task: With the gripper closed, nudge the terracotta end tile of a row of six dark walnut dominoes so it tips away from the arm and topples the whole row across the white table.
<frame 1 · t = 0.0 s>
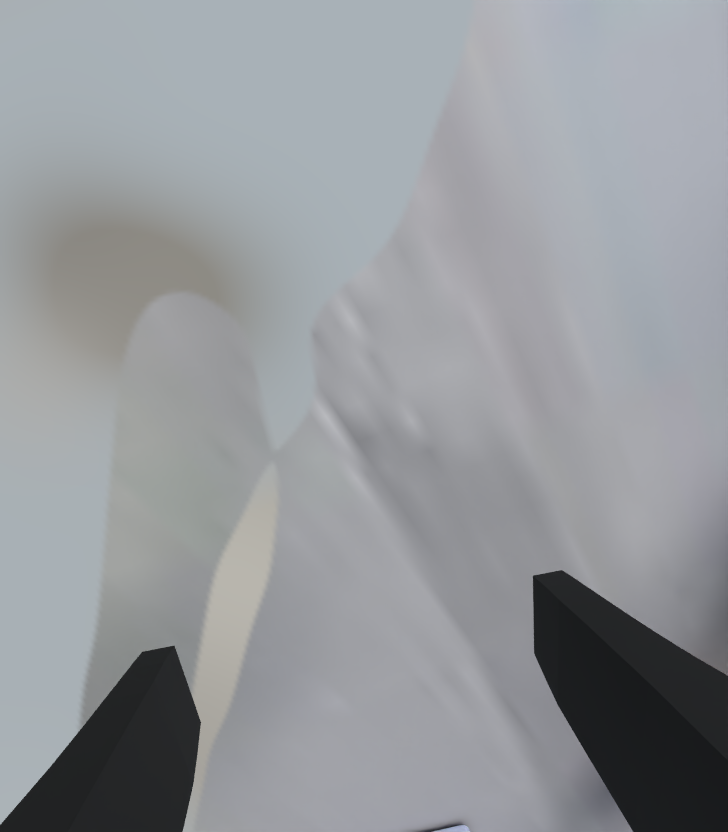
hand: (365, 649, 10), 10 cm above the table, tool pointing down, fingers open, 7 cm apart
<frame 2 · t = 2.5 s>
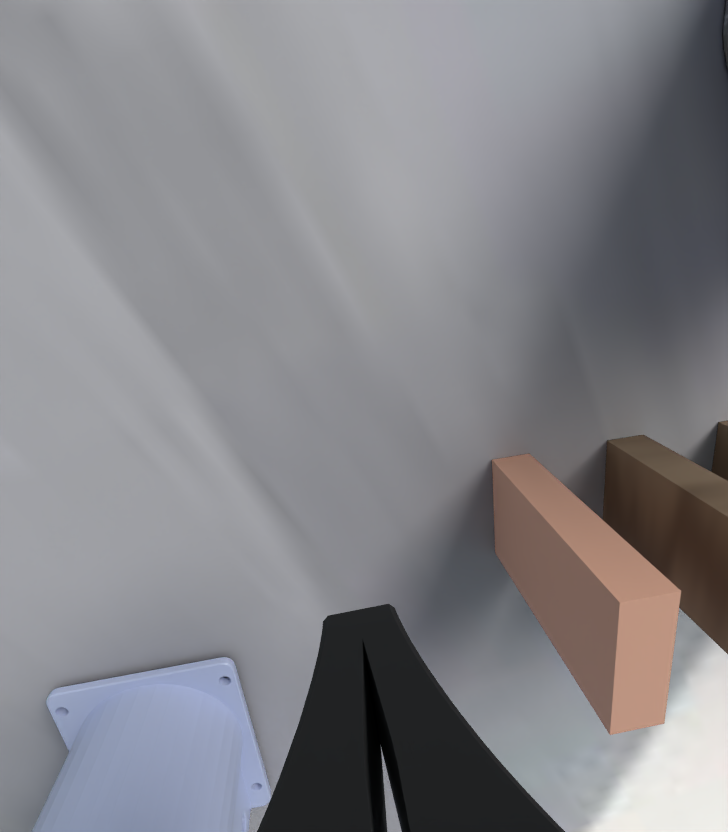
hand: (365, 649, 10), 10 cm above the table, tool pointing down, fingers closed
domino 1: (511, 504, 20), on the table
domino 2: (621, 485, 21), on the table
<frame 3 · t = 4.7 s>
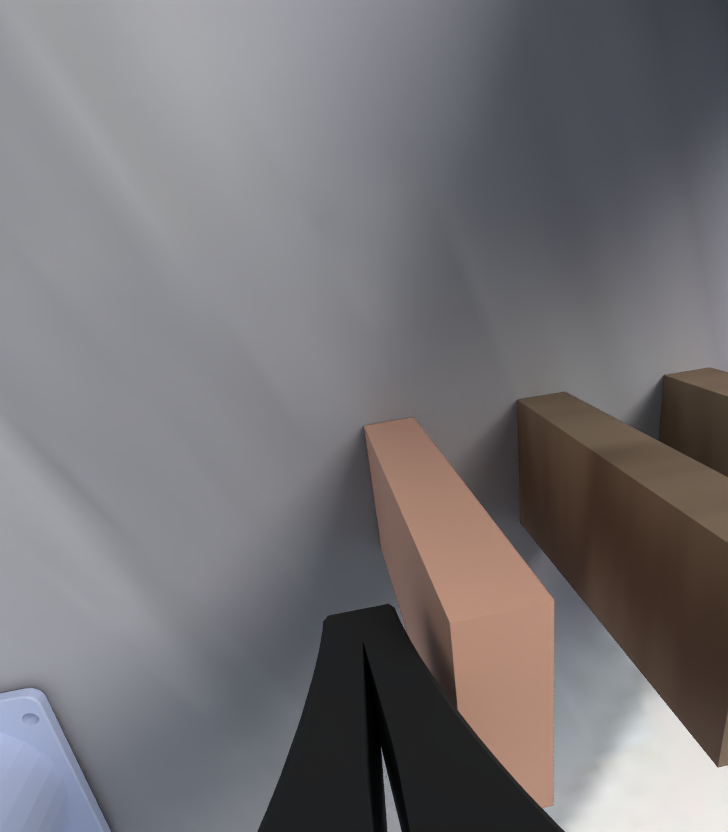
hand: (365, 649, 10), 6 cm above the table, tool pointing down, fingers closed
domino 3: (680, 435, 16), on the table
domino 1: (396, 486, 16), on the table, touching gripper
domino 2: (541, 460, 16), on the table
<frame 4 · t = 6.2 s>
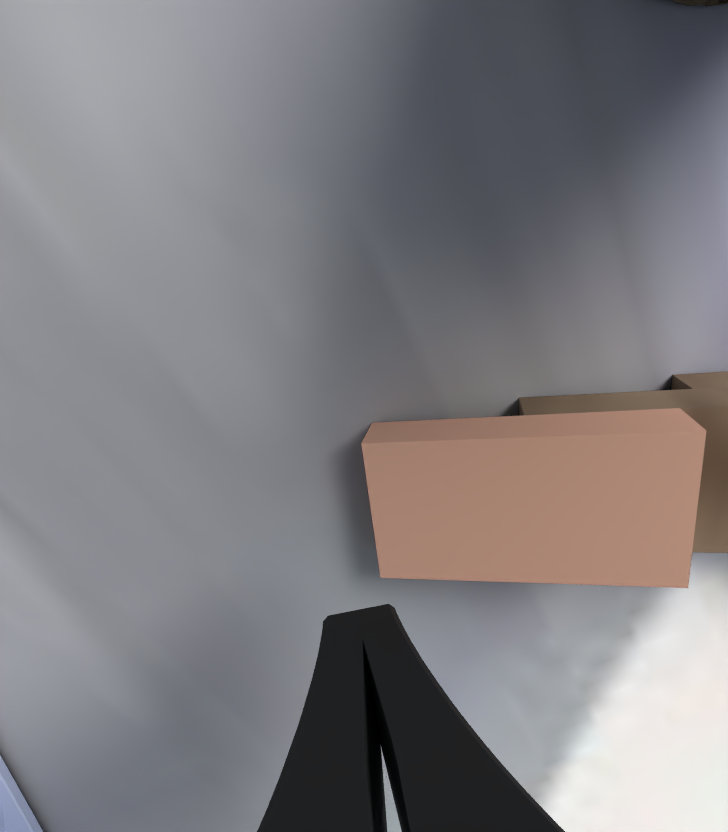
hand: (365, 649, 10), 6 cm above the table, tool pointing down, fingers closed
domino 3: (675, 449, 16), point 1 cm above the table, tilted 72°, touching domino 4
domino 1: (376, 500, 15), point 1 cm above the table, tilted 71°, touching domino 2
domino 2: (522, 473, 15), point 1 cm above the table, tilted 72°, touching domino 1
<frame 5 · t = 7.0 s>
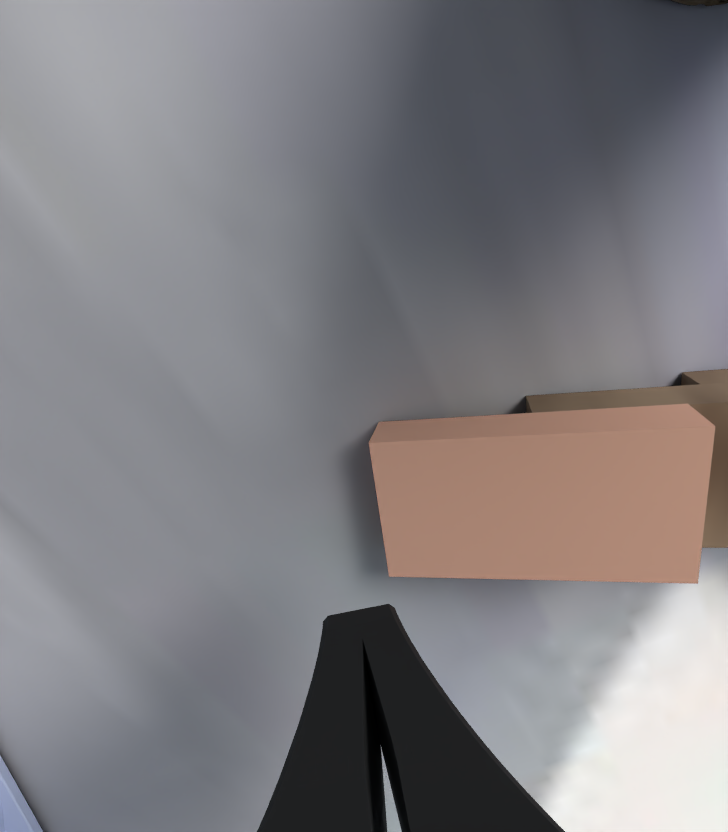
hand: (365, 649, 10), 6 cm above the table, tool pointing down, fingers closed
domino 3: (686, 446, 16), point 1 cm above the table, tilted 72°, touching domino 2, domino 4
domino 1: (383, 499, 15), point 1 cm above the table, tilted 71°, touching domino 2
domino 2: (530, 471, 15), point 1 cm above the table, tilted 72°, touching domino 1, domino 3
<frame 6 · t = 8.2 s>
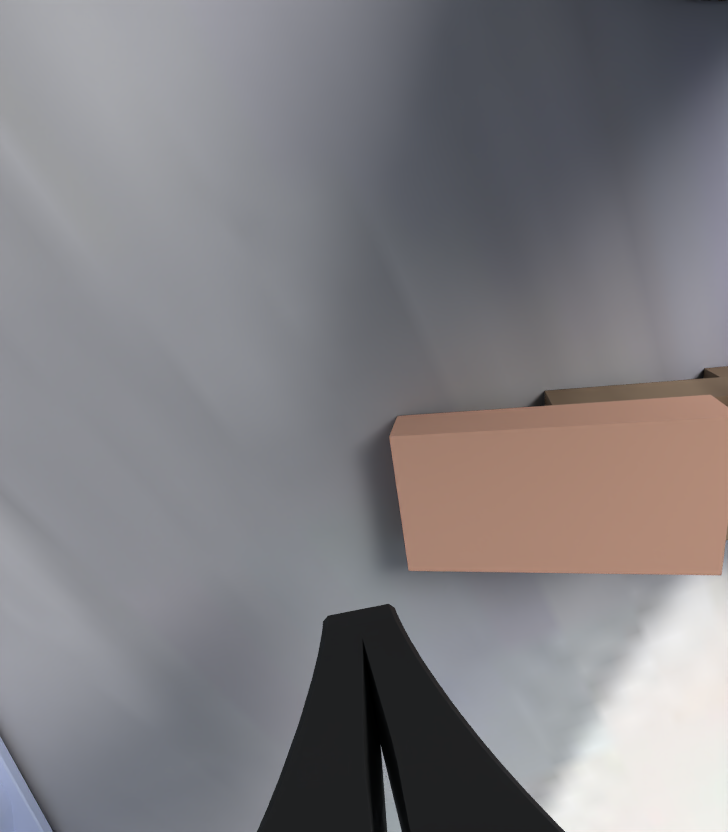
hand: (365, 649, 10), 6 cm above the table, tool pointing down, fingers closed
domino 1: (403, 493, 15), point 1 cm above the table, tilted 71°, touching domino 2
domino 2: (549, 466, 15), point 1 cm above the table, tilted 73°, touching domino 1, domino 3
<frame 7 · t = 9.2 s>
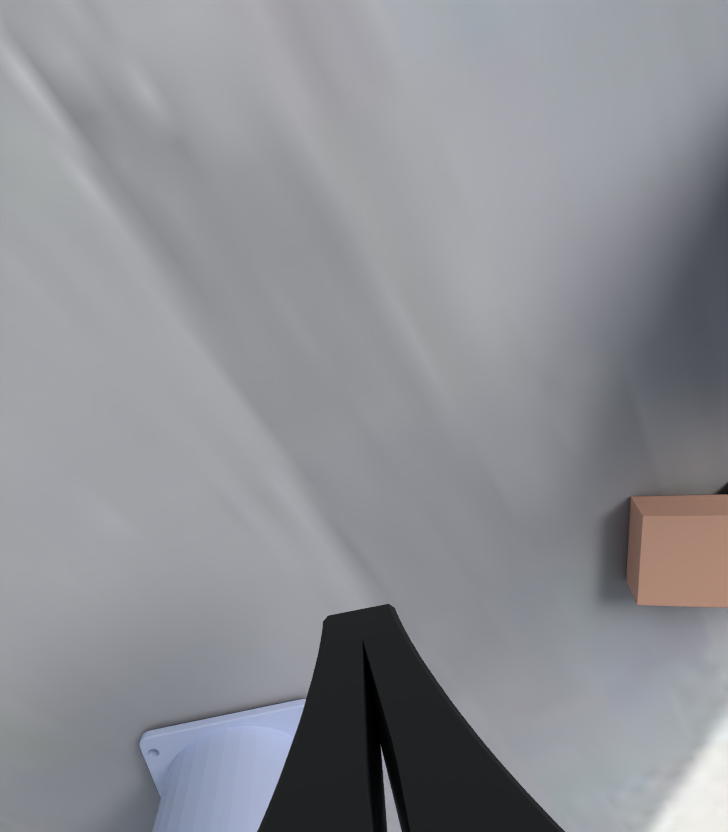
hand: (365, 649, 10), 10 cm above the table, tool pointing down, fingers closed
domino 1: (634, 550, 21), point 1 cm above the table, tilted 72°, touching domino 2
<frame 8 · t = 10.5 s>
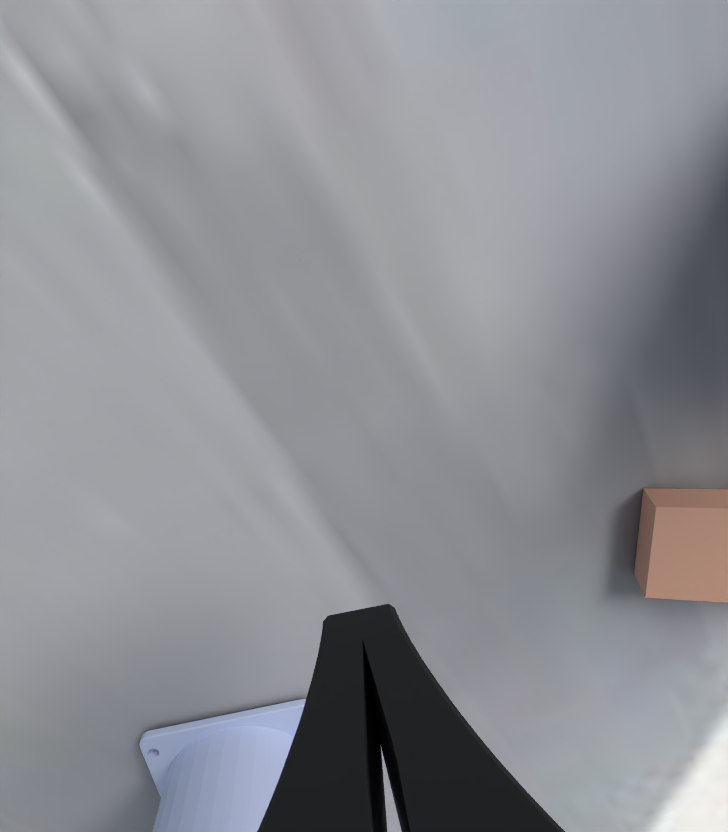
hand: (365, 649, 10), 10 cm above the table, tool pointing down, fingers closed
domino 1: (644, 543, 21), point 1 cm above the table, tilted 71°, touching domino 2
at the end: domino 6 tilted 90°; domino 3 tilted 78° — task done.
